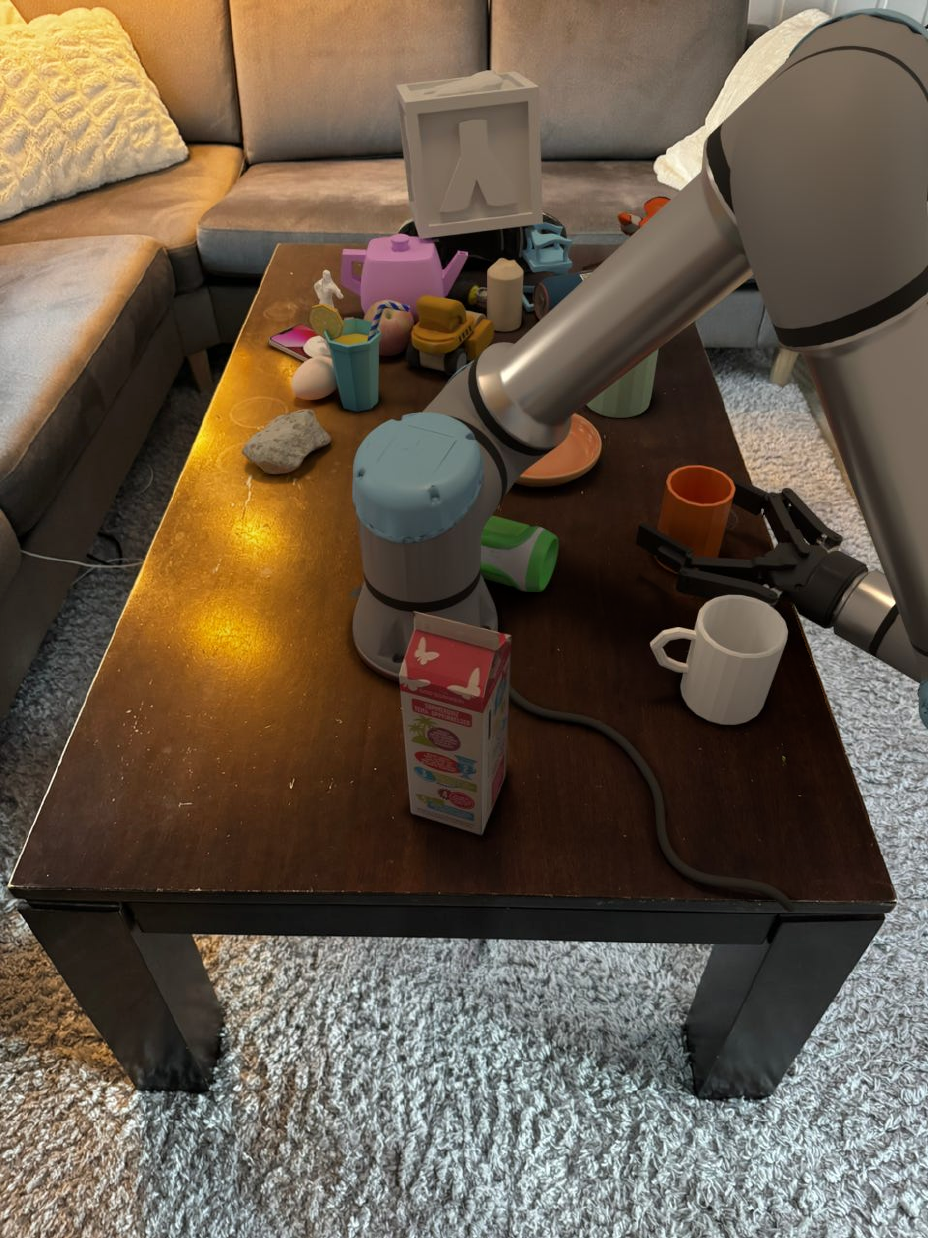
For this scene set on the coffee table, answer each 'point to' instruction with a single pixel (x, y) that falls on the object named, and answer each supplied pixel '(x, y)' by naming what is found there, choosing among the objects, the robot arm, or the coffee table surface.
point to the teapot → (399, 271)
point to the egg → (314, 379)
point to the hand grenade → (468, 293)
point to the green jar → (628, 392)
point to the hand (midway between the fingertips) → (677, 505)
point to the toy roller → (447, 335)
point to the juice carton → (455, 719)
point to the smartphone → (293, 340)
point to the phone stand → (545, 254)
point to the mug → (728, 658)
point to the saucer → (566, 457)
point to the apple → (392, 328)
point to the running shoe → (486, 243)
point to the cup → (353, 352)
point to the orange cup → (696, 509)
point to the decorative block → (472, 153)
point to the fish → (634, 222)
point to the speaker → (517, 554)
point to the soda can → (555, 291)
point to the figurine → (324, 292)
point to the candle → (505, 295)
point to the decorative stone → (286, 442)
